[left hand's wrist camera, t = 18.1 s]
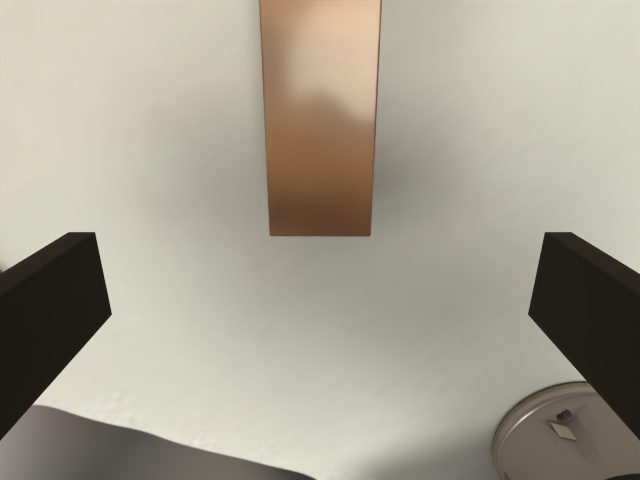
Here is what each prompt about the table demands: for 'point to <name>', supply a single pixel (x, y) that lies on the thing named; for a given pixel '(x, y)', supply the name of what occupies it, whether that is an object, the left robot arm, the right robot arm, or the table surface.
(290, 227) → the box
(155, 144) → the table surface
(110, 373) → the table surface
